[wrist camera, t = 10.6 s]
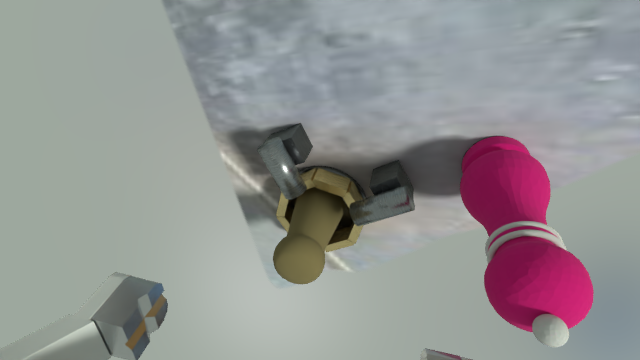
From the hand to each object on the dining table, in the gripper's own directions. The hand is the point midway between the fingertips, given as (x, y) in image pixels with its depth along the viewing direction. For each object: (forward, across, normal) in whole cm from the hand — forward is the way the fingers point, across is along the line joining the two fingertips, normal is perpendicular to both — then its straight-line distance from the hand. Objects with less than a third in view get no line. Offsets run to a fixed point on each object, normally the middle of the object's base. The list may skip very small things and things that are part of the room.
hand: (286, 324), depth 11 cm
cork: (+27, +3, +17) cm, 33 cm away
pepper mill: (+28, -14, +8) cm, 32 cm away
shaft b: (+28, -4, +13) cm, 31 cm away
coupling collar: (+28, +3, +17) cm, 33 cm away
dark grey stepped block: (+28, +7, +11) cm, 31 cm away
